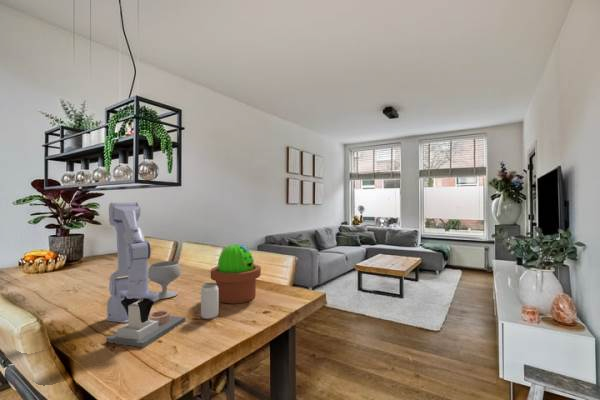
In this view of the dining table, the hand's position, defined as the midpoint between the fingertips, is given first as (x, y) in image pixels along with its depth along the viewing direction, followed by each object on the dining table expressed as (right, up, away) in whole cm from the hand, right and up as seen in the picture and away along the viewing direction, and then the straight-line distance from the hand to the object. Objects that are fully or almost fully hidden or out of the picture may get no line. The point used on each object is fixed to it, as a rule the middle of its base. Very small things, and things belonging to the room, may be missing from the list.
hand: (138, 320), depth 95 cm
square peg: (0, -2, 0) cm, 3 cm away
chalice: (-11, -6, +42) cm, 43 cm away
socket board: (+1, -5, +4) cm, 7 cm away
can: (+18, -6, +18) cm, 26 cm away
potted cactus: (+24, -6, +39) cm, 46 cm away
